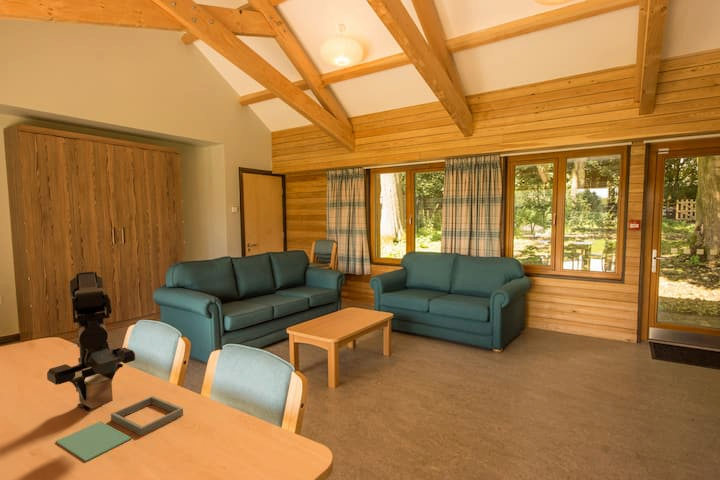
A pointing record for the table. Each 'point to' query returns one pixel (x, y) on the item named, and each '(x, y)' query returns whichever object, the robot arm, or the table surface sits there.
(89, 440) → the mat
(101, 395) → the walnut block
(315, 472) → the table surface
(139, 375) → the table surface
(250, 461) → the table surface
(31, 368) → the table surface
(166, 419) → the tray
